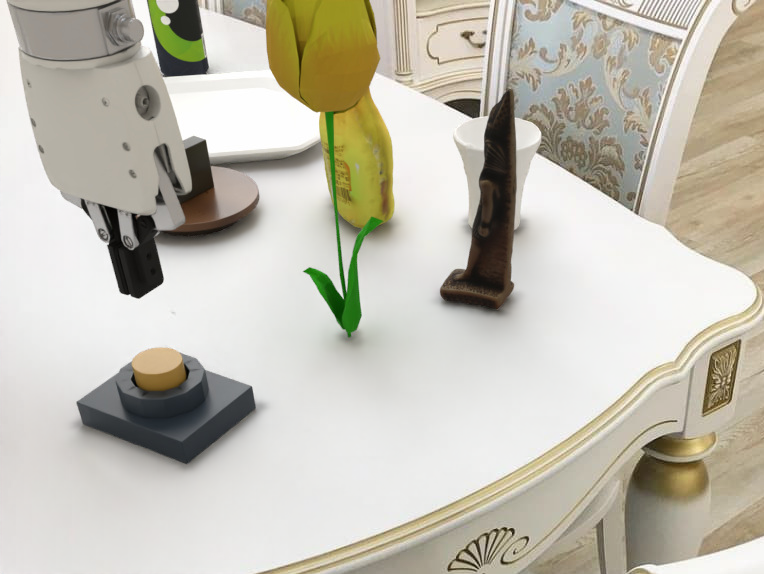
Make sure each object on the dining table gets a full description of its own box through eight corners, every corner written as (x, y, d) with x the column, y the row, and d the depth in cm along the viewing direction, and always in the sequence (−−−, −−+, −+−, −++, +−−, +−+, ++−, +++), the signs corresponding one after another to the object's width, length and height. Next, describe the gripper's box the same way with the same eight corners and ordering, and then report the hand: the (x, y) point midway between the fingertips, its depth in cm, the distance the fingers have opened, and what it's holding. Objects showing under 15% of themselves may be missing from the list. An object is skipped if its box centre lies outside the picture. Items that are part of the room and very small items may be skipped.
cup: (435, 227, 117) (432, 131, 110) (494, 199, 122) (494, 105, 115) (497, 255, 113) (498, 157, 106) (555, 225, 118) (560, 129, 111)
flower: (298, 360, 99) (247, -14, 77) (308, 313, 105) (263, -48, 83) (395, 360, 99) (371, -12, 78) (399, 314, 105) (378, -46, 83)
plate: (309, 84, 144) (307, 66, 143) (334, 164, 128) (332, 144, 126) (112, 98, 140) (108, 79, 138) (112, 182, 123) (107, 162, 122)
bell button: (125, 384, 90) (120, 365, 88) (158, 360, 92) (154, 342, 91) (164, 398, 88) (159, 379, 87) (196, 374, 91) (192, 355, 90)
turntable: (191, 162, 124) (181, 108, 120) (286, 194, 119) (279, 139, 115) (95, 208, 116) (81, 152, 111) (193, 244, 110) (182, 187, 106)
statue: (454, 282, 109) (449, 66, 95) (521, 295, 108) (527, 78, 93) (438, 302, 107) (431, 83, 92) (507, 316, 105) (511, 96, 91)
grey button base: (82, 424, 92) (69, 383, 89) (155, 372, 97) (145, 331, 94) (187, 464, 88) (177, 422, 85) (256, 408, 94) (249, 367, 91)
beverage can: (182, 63, 149) (158, -66, 138) (219, 71, 147) (198, -58, 136) (151, 77, 145) (125, -54, 134) (190, 86, 143) (166, -46, 132)
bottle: (313, 196, 122) (290, -6, 107) (368, 186, 124) (353, -13, 109) (349, 244, 114) (330, 34, 100) (407, 232, 116) (396, 25, 102)
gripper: (205, 28, 71) (252, 291, 84) (33, -9, 76) (102, 245, 89) (125, 64, 66) (187, 336, 80) (-53, 23, 71) (34, 286, 84)
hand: (142, 288), depth 84 cm, fingers closed
